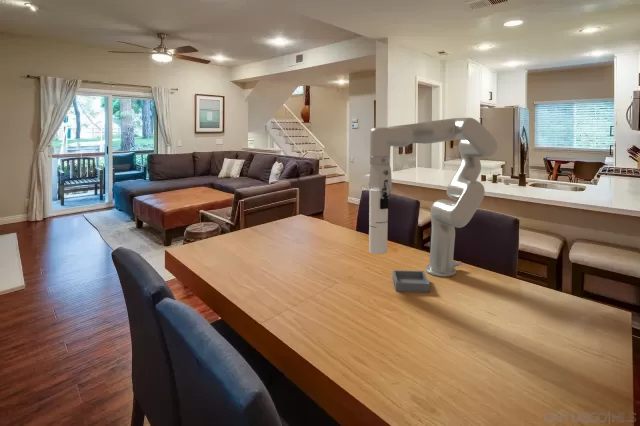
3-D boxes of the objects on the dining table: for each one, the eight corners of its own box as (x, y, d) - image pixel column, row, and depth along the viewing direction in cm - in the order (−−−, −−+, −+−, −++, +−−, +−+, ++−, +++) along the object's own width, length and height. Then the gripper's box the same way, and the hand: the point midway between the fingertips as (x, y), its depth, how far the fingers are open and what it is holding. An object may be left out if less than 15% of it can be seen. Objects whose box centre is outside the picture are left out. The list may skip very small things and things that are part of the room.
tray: (423, 278, 150) (423, 271, 149) (429, 292, 138) (429, 283, 137) (392, 278, 151) (392, 270, 150) (395, 291, 139) (396, 282, 138)
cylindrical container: (386, 254, 140) (388, 191, 135) (368, 253, 142) (368, 190, 136) (387, 248, 147) (388, 188, 142) (369, 248, 149) (370, 187, 143)
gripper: (400, 162, 130) (399, 210, 134) (378, 158, 146) (377, 201, 150) (382, 163, 127) (381, 212, 131) (361, 159, 143) (360, 203, 147)
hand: (379, 206), depth 141 cm, fingers closed on cylindrical container, 7 cm apart
